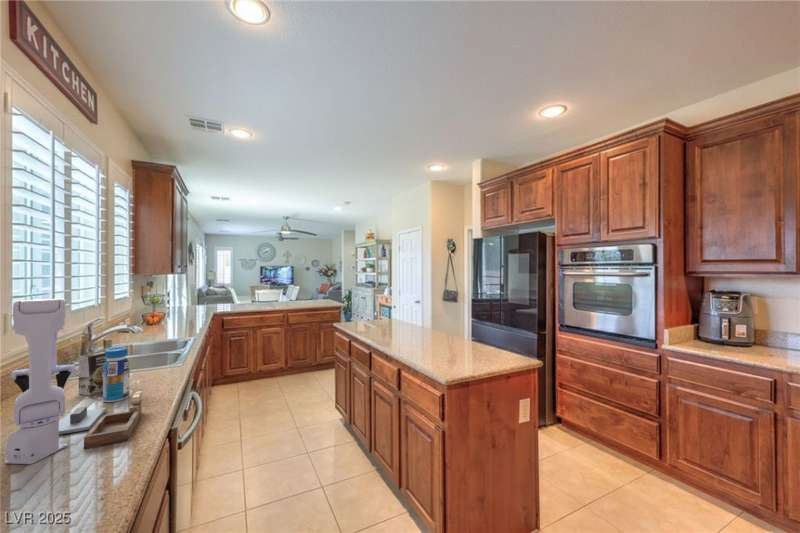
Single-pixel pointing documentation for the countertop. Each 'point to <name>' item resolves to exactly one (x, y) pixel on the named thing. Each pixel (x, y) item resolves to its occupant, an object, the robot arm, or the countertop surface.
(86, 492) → the countertop surface
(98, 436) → the brown angular frame
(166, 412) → the countertop surface
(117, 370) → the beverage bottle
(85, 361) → the coffee box
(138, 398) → the block
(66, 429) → the lid
